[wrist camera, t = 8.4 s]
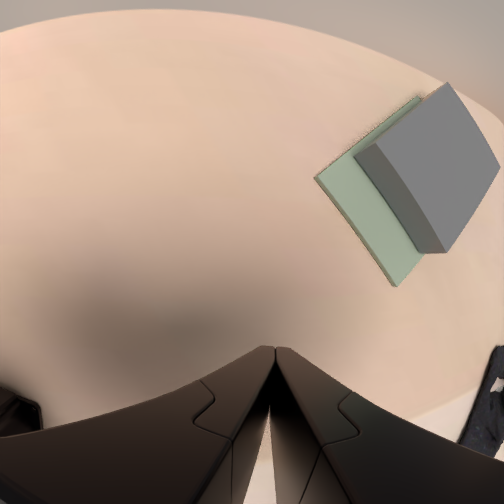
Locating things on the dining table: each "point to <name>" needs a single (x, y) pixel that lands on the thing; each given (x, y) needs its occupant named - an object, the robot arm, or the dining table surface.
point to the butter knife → (499, 388)
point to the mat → (371, 208)
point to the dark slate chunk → (488, 412)
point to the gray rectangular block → (432, 169)
